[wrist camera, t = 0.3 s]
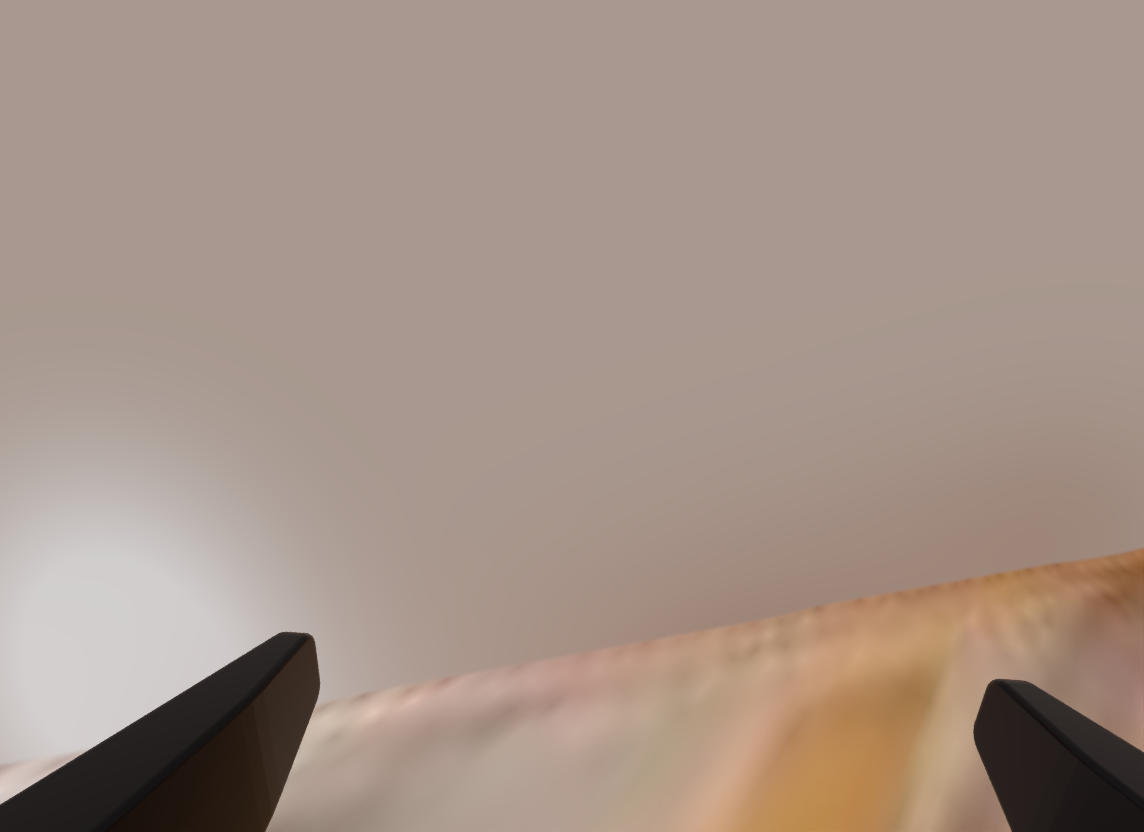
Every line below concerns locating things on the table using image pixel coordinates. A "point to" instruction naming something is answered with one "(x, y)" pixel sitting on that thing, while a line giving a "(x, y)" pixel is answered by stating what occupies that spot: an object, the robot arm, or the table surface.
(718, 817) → the table surface
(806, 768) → the table surface
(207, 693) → the robot arm
